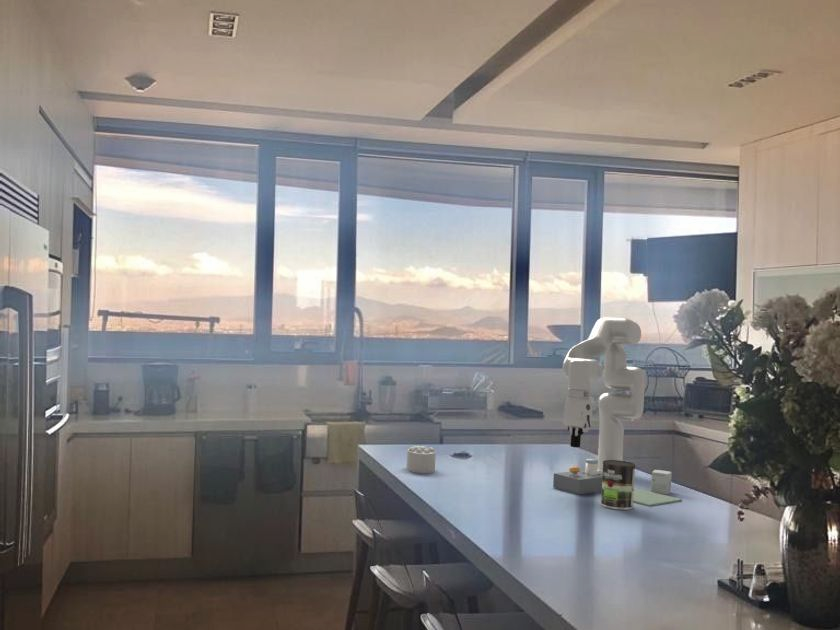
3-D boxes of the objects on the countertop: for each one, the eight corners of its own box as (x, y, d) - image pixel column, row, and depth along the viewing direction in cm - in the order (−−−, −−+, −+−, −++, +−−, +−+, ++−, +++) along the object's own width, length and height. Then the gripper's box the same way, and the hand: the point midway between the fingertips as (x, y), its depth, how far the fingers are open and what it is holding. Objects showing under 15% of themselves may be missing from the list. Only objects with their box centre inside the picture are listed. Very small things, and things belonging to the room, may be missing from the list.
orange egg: (573, 482, 293) (574, 465, 293) (581, 484, 290) (582, 467, 290) (566, 483, 291) (567, 466, 291) (574, 485, 288) (575, 468, 288)
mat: (638, 490, 295) (638, 488, 295) (682, 501, 281) (682, 499, 281) (605, 495, 284) (605, 493, 284) (649, 506, 270) (649, 504, 270)
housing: (587, 483, 303) (587, 469, 303) (613, 489, 294) (613, 475, 294) (553, 487, 293) (553, 473, 293) (578, 494, 283) (579, 479, 283)
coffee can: (623, 511, 260) (625, 466, 260) (594, 505, 267) (596, 461, 267) (639, 507, 268) (641, 463, 268) (610, 501, 275) (613, 458, 275)
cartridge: (590, 486, 299) (591, 458, 299) (599, 488, 295) (600, 460, 295) (581, 487, 296) (583, 459, 296) (591, 489, 293) (592, 461, 293)
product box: (650, 492, 293) (651, 471, 293) (653, 489, 299) (654, 469, 299) (668, 494, 290) (669, 473, 290) (671, 491, 296) (672, 471, 296)
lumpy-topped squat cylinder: (431, 467, 321) (432, 444, 321) (437, 473, 308) (438, 450, 308) (404, 466, 319) (405, 444, 319) (410, 473, 306) (411, 449, 306)
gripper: (601, 396, 286) (598, 449, 286) (569, 392, 298) (566, 443, 298) (587, 396, 282) (584, 450, 282) (555, 392, 294) (552, 444, 293)
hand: (575, 446), depth 290 cm, fingers closed
